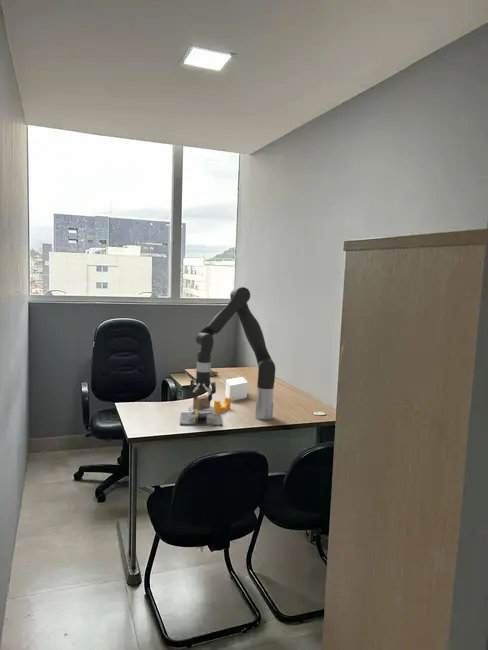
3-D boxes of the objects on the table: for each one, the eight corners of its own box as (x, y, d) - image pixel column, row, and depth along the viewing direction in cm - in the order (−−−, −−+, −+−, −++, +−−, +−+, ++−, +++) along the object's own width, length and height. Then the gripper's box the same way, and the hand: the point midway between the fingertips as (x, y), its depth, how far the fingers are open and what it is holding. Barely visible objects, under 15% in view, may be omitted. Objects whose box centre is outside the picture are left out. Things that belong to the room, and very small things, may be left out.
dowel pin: (197, 422, 258) (198, 409, 257) (197, 423, 256) (198, 410, 256) (194, 422, 258) (195, 409, 257) (194, 423, 256) (195, 409, 256)
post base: (220, 415, 277) (221, 407, 276) (222, 426, 257) (222, 417, 256) (181, 414, 274) (181, 405, 274) (179, 425, 255) (180, 416, 254)
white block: (252, 393, 333) (252, 378, 332) (240, 403, 306) (241, 386, 304) (231, 390, 337) (232, 375, 336) (218, 400, 309) (219, 384, 308)
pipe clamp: (219, 413, 281) (220, 402, 280) (213, 411, 283) (214, 400, 283) (232, 409, 290) (233, 398, 290) (226, 408, 293) (227, 397, 292)
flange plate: (198, 405, 275) (199, 392, 274) (219, 410, 267) (220, 397, 267) (179, 412, 260) (180, 398, 260) (201, 417, 253) (201, 403, 252)
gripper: (218, 370, 263) (217, 400, 265) (194, 367, 269) (193, 396, 270) (212, 372, 256) (211, 403, 258) (188, 369, 262) (187, 399, 263)
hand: (202, 400), depth 264 cm, fingers open, 8 cm apart
